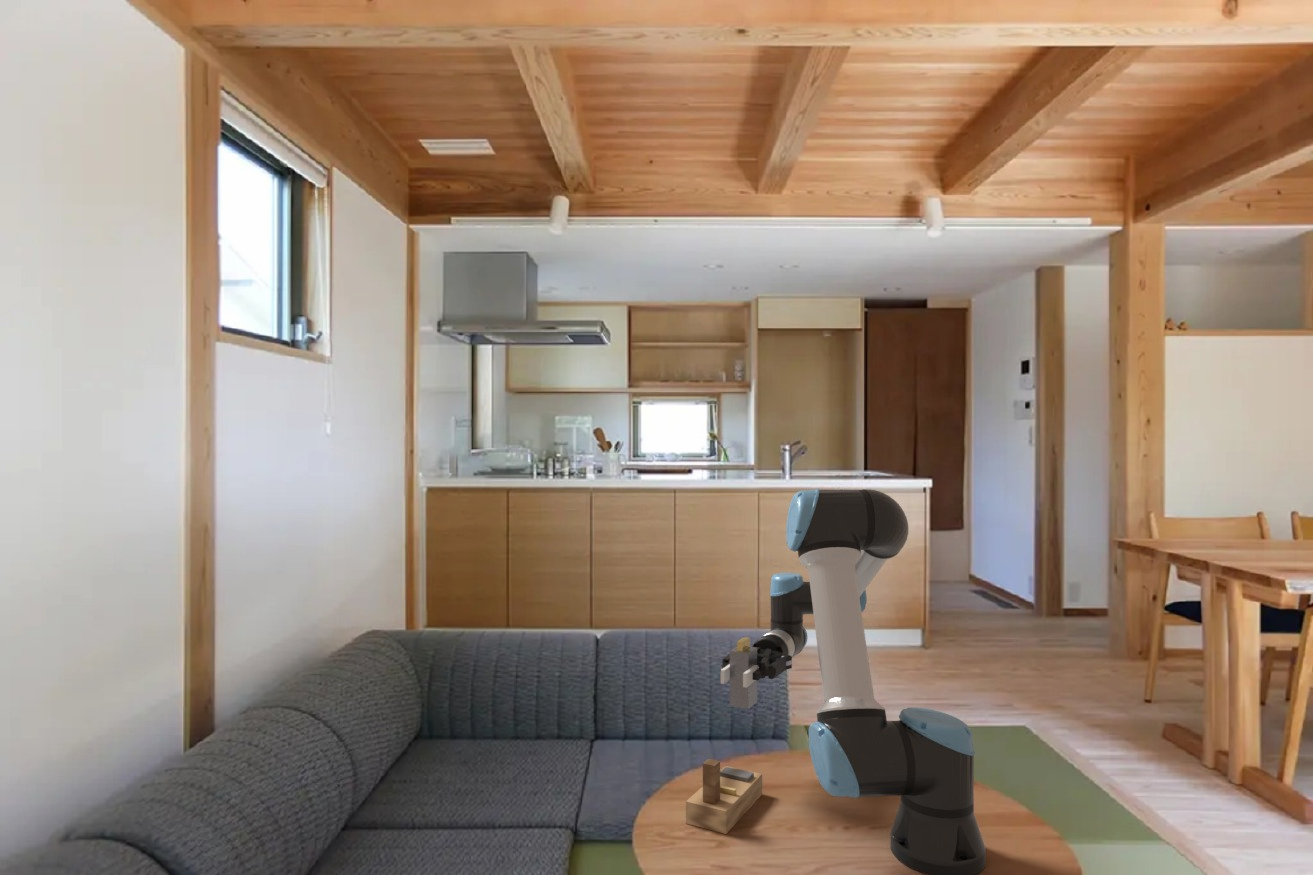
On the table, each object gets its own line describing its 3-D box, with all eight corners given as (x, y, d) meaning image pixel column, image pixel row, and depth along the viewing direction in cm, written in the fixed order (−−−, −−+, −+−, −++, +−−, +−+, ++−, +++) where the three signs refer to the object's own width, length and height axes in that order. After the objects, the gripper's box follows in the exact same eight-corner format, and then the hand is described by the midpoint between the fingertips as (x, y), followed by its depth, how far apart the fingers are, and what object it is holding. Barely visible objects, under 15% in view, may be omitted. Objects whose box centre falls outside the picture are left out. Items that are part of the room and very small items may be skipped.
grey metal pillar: (757, 701, 155) (757, 637, 155) (748, 708, 150) (748, 643, 151) (738, 698, 157) (738, 635, 157) (729, 705, 152) (729, 640, 152)
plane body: (762, 794, 150) (762, 738, 151) (726, 833, 135) (725, 771, 135) (725, 785, 154) (725, 731, 154) (685, 823, 138) (685, 762, 139)
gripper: (810, 672, 166) (775, 704, 145) (737, 662, 174) (694, 691, 153) (810, 638, 166) (774, 665, 145) (737, 629, 174) (694, 653, 153)
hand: (733, 678), depth 149 cm, fingers closed on grey metal pillar, 4 cm apart
